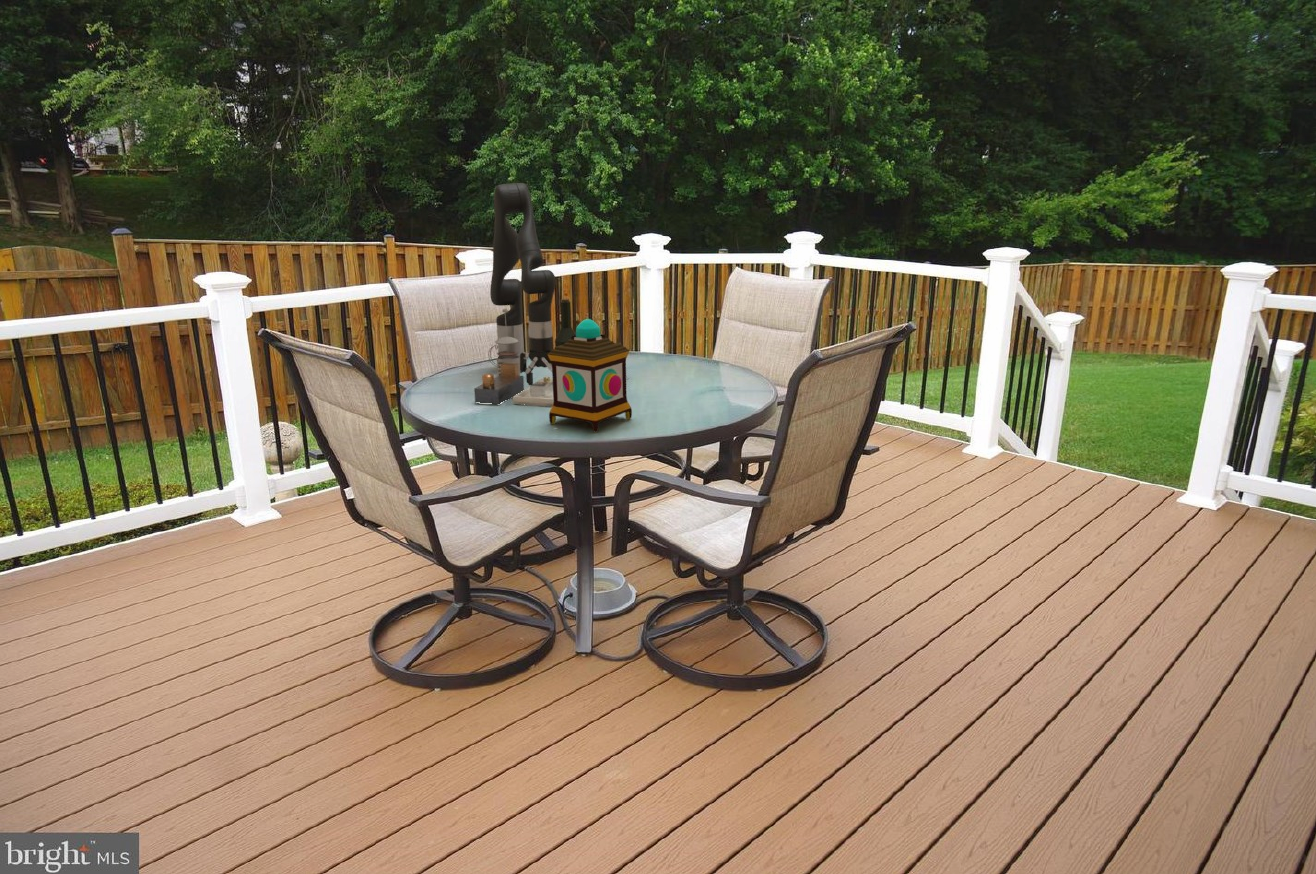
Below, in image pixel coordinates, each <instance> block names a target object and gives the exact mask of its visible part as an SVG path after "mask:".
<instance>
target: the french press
mask: <svg viewBox="0 0 1316 874" xmlns="http://www.w3.org/2000/svg"><path fill="white" fill-rule="evenodd" d="M508 311H509V309H507V308H503V309H502V311H501V313H503V314H504V313H505V323H506V312H508ZM518 342H519V341H518V340H517V339H515V338H512V337H508V336H507V329H506V337H502V338H500V339H498V338H497V339H496V340H495V341H494V343H495V345H493V346H491V347H490V348H489V350H488V353H487V354H488V355H487V356H488V360H489V362H490V363H491V365H493V366H494V367H496V375H497V376H499V375H501V365H502V364H504V363H513V364H518V366H519V356H516V355H517V354H518V352H517V351H508V346H507V351H503V352H502V351H501V352H497V355H498V356H497V358H496V363H495V361H494V360H493V359H492V353H491V352H492V350H493V348H494V349H495V350H497V351H498V344H501V345H510V344H516V343H518ZM499 355H500V356H499ZM506 358H512V359H506ZM504 359H506V360H504ZM497 376H496V377H497ZM519 376H521V372H520V366H519Z"/></svg>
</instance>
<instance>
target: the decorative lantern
mask: <svg viewBox="0 0 1316 874" xmlns="http://www.w3.org/2000/svg"><path fill="white" fill-rule="evenodd" d="M575 334H576V336H572V337H571V339H570V340H568V341H567V342H566V343H564V344H563V345H560V346H556V347H555V346H554V347H553V350H551V351H550V353H548V357H549V359H550V360H551V363H552V371H551V372H552V373H551V375H552V379H553V399H554V402H553V406H552V407H550V411H549V413H548V418H549V423H550V424H551V425H555V424H556V419H557V417H559V418H566V419H569V420H576V421H581V422H586V423H590V424H591V426H592V431H593V433H598V431H599V425H600V423H601V422H603V421H606V420H610V419H612V418H615V417H618V416H619V415H622V414H625V415H624V416H625V418H626V419H627V420H631V419H632V415H633V413H632V407H631V405H630V402H629V401H628V398H627V379H626V378H627V358H628V355H629V353H630V349H628V348H627V346H625V345H623V344H622V343H620V342H619V343H618V342H614V341H613V340H610V338H608V337H606V335H605V334H601V327H600V326H599V325H598V324H597V323H596V322H595V321H594V320H592V319H591V318H586V319H583V320H582V321H581V322H580V323H579V324H578V325H577V326H576V329H575Z"/></svg>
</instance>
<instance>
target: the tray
mask: <svg viewBox="0 0 1316 874" xmlns="http://www.w3.org/2000/svg"><path fill="white" fill-rule="evenodd" d="M512 402H513V403H512V404H522V405H521V406H529V405H535V406H534V407H545V406H547V408H552V406H553V402H554V399H553V396H552V397H550V398H536V397H530V386H529V387H526V388H524V391H522V392H520V393H519V394H517V395H515V396H513V397H512ZM524 404H525V405H524Z"/></svg>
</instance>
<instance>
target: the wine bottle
mask: <svg viewBox="0 0 1316 874" xmlns="http://www.w3.org/2000/svg"><path fill="white" fill-rule="evenodd" d="M571 304H572V303H571V301H570V298H562V299H561V301H560V317H561V318H560V321H561V323H560V324H561V327H560V329H559V331H558V334H557V335H556V338H555V340H554V343H555V344H554V348H555V347H556V346H560V345H563V344H564V343H566V342H567V341H568V340H570V339H571V337H572V336H576V331H575V330H574V329H573V327H572V312H571V311H572V310H571Z"/></svg>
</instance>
